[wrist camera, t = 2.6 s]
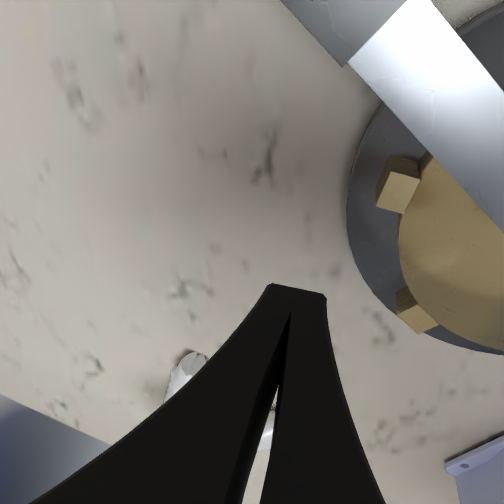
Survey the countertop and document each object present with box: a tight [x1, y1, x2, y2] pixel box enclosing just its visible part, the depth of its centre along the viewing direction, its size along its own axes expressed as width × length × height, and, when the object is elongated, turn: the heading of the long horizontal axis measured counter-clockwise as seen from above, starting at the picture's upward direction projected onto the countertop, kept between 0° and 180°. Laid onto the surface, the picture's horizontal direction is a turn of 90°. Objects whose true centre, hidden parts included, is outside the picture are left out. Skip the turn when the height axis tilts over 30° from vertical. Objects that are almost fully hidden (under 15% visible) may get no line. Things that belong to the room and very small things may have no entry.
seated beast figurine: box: [163, 352, 275, 452], centre depth 26 cm, size 10×9×12 cm
